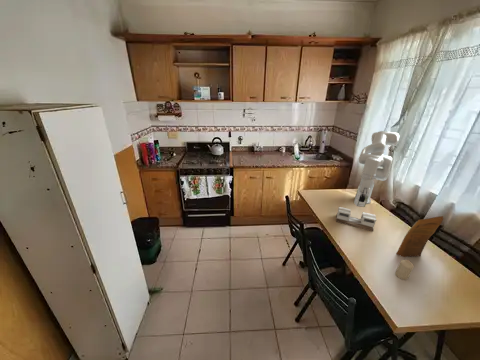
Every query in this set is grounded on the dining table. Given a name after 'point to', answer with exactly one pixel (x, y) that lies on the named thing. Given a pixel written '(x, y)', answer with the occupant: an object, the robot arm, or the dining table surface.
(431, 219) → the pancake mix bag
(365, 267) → the dining table surface
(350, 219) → the rail board
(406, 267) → the candle
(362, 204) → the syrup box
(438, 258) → the dining table surface
